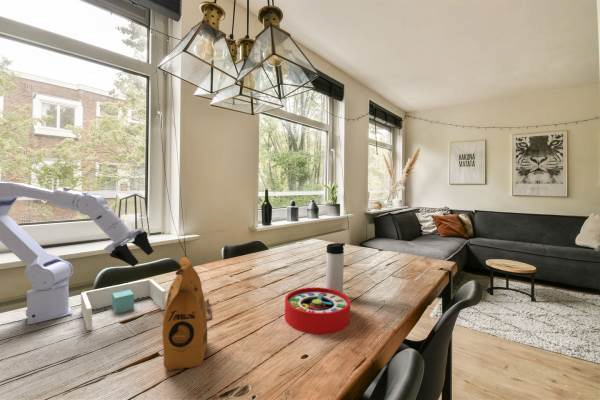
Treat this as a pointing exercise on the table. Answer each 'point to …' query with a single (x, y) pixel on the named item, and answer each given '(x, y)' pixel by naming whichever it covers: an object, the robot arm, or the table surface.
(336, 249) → the travel mug
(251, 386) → the table surface
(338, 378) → the table surface
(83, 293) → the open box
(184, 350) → the coffee package
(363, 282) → the table surface
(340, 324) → the toy clock
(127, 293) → the teal block
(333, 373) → the table surface
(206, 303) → the shard
